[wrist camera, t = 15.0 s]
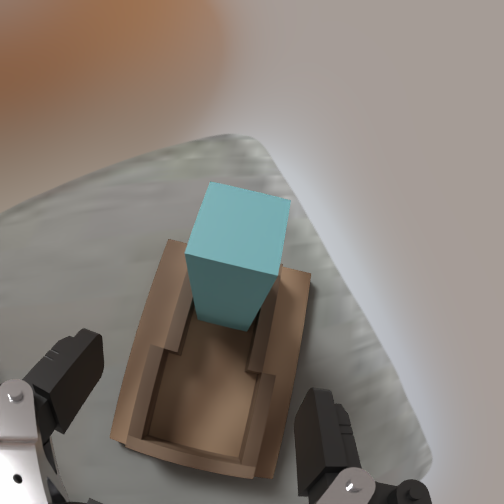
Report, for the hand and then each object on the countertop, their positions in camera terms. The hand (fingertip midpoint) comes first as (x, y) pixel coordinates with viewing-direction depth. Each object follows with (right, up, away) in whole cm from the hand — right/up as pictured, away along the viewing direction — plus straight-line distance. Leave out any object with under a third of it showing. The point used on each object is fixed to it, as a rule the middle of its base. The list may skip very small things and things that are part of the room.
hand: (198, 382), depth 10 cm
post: (0, +1, +14) cm, 14 cm away
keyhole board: (-1, -4, +13) cm, 13 cm away
